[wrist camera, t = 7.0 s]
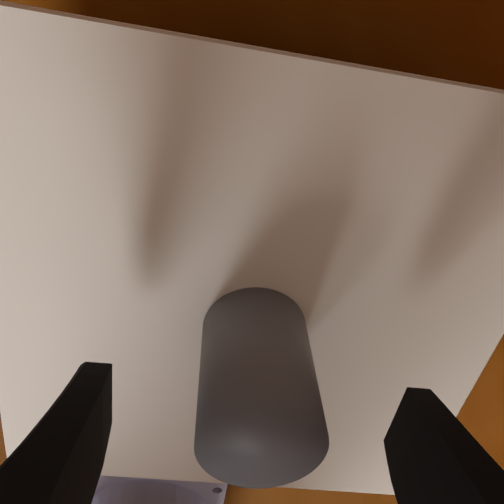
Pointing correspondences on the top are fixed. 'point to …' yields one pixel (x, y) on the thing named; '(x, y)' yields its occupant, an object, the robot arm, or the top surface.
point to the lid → (240, 247)
